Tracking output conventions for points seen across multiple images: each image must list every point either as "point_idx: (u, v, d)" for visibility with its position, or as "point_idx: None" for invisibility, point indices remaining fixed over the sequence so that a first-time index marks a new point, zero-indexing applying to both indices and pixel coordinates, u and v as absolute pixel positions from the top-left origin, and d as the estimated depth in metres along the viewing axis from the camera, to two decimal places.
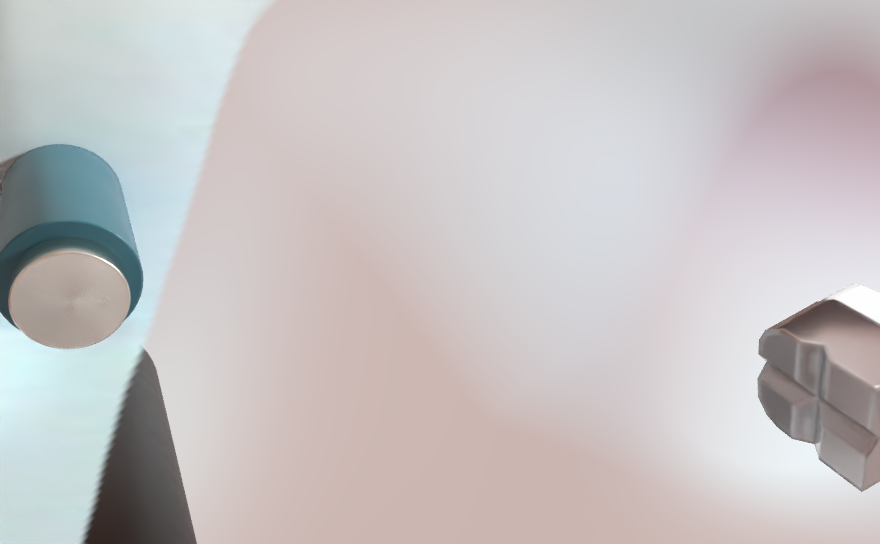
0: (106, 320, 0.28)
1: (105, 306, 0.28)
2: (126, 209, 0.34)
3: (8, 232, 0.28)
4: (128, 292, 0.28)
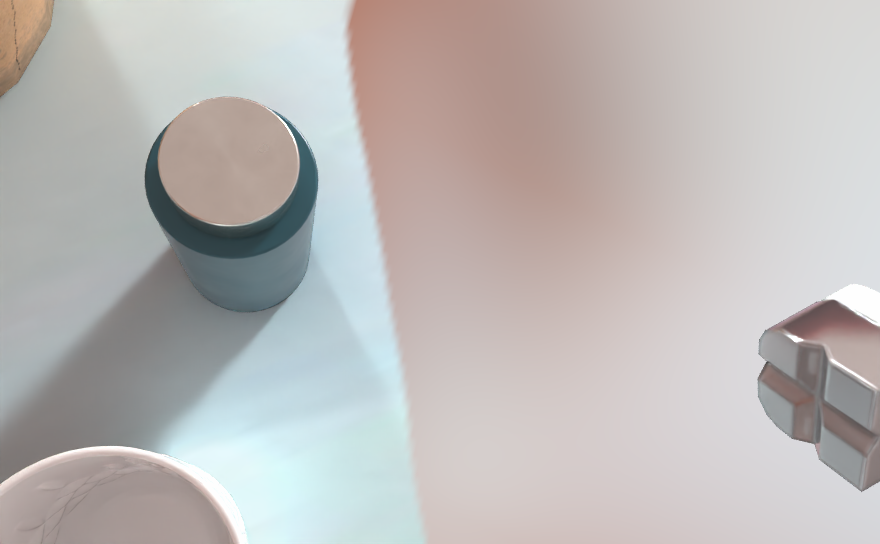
0: (278, 171, 0.22)
1: (269, 153, 0.22)
2: None
3: None
4: (288, 129, 0.23)
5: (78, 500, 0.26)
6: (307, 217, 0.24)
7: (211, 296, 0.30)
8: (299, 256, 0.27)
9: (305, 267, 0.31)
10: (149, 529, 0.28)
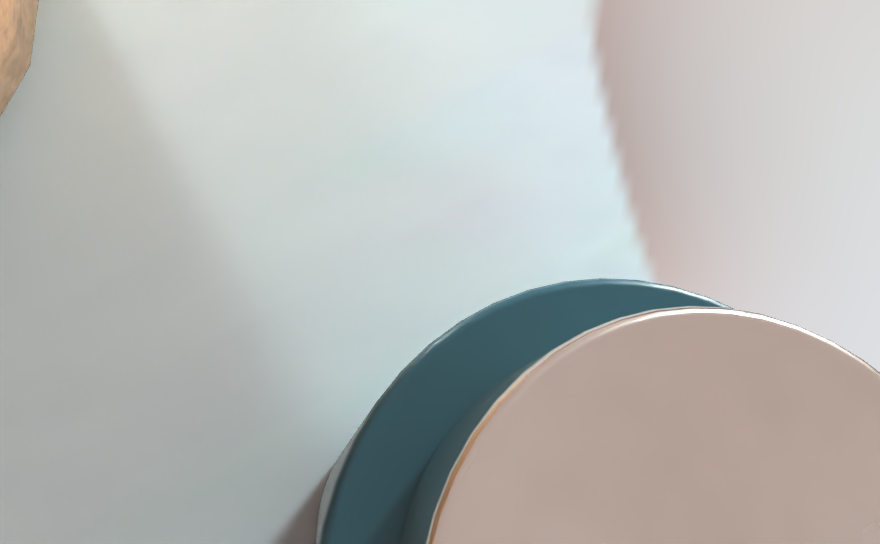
0: None
1: None
2: None
3: (326, 504, 0.07)
4: None
5: None
6: None
7: None
8: None
9: None
10: None
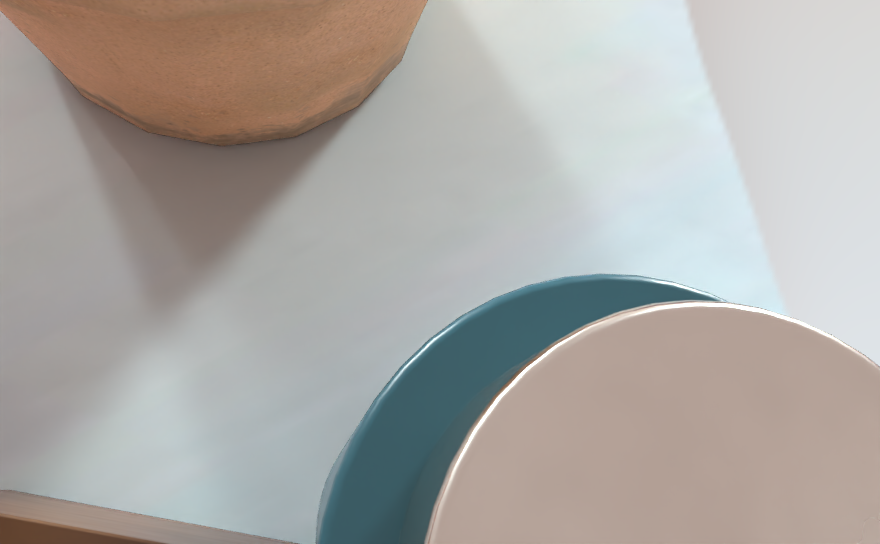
0: None
1: None
2: None
3: (326, 499, 0.07)
4: None
5: None
6: None
7: None
8: None
9: None
10: None
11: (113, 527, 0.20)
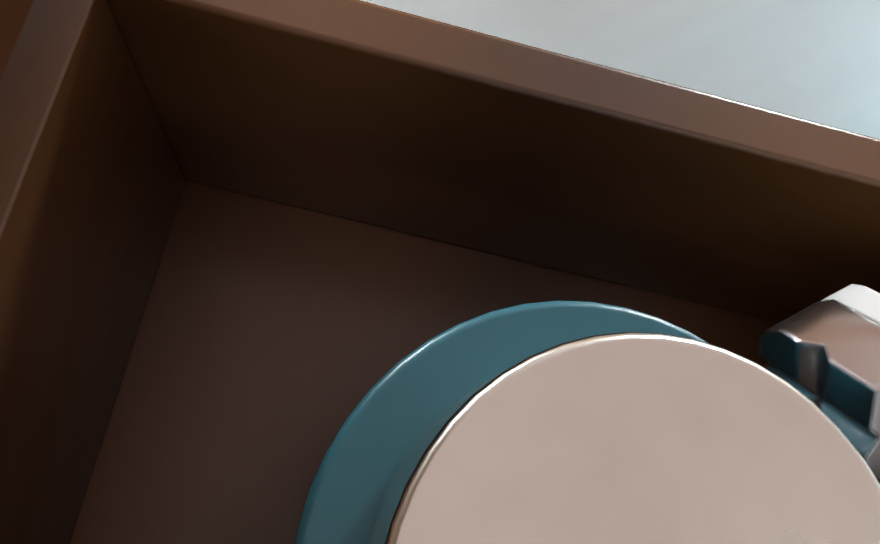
0: None
1: None
2: None
3: None
4: (856, 453, 0.06)
5: None
6: None
7: None
8: None
9: None
10: None
11: None
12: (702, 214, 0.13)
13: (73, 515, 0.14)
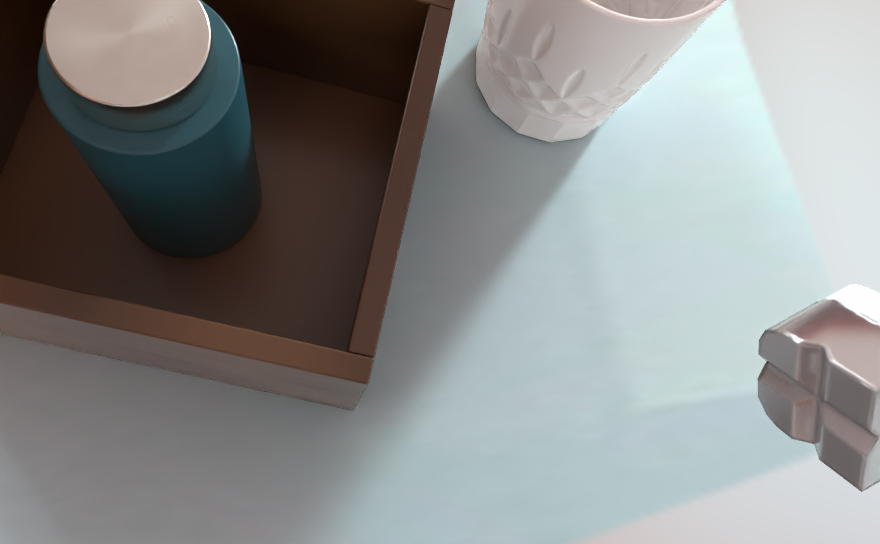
0: (186, 47, 0.19)
1: (175, 27, 0.19)
2: None
3: None
4: (198, 1, 0.19)
5: None
6: (227, 109, 0.20)
7: (146, 235, 0.27)
8: (234, 175, 0.24)
9: (253, 204, 0.28)
10: None
11: None
12: (305, 11, 0.27)
13: None
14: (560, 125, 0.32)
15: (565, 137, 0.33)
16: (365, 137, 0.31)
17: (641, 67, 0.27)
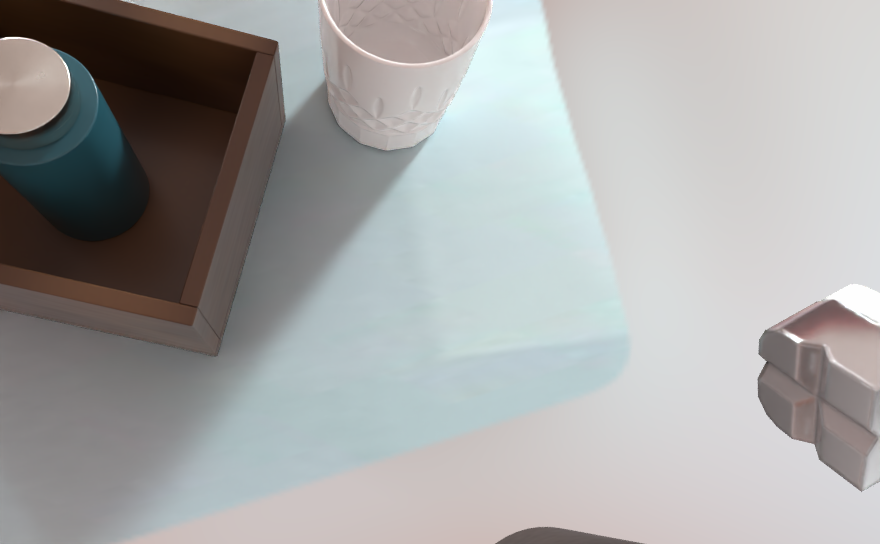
0: (52, 93, 0.28)
1: (45, 79, 0.28)
2: None
3: None
4: (62, 61, 0.29)
5: (350, 31, 0.41)
6: (88, 134, 0.30)
7: (54, 223, 0.36)
8: (108, 178, 0.33)
9: (138, 200, 0.37)
10: None
11: None
12: (172, 55, 0.36)
13: None
14: (386, 137, 0.41)
15: (397, 146, 0.42)
16: None
17: (423, 96, 0.36)
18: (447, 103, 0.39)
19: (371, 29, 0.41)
